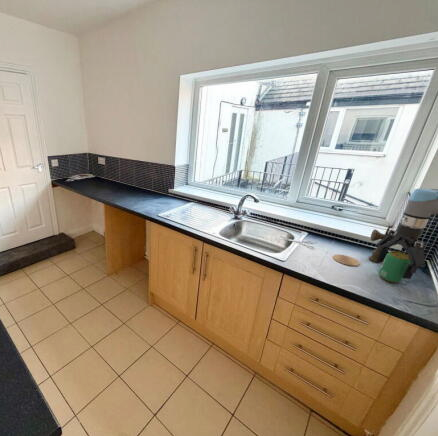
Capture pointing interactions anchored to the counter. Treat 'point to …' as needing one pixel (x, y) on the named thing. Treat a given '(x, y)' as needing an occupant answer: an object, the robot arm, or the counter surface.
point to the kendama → (378, 236)
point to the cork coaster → (346, 260)
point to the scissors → (302, 243)
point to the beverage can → (394, 266)
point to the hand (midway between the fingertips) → (392, 269)
